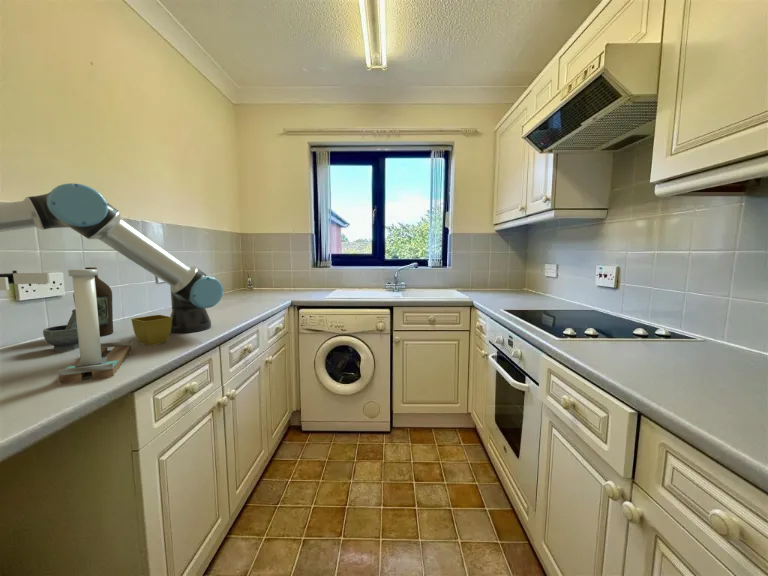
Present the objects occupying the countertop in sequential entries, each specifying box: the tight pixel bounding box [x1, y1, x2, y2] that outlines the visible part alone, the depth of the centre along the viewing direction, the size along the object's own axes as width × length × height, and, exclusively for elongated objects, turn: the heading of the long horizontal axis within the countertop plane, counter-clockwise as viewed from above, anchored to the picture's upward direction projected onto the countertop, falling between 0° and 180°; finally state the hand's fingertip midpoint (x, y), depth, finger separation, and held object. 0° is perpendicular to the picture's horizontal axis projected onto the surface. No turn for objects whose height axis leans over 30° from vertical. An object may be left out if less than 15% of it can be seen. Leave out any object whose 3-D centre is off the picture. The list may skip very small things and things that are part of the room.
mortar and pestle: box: [42, 308, 79, 352], centre depth 103 cm, size 11×9×12 cm
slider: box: [67, 268, 107, 368], centre depth 81 cm, size 5×5×24 cm
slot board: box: [57, 340, 133, 385], centre depth 89 cm, size 10×24×3 cm, turn 29°
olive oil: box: [72, 266, 114, 337], centre depth 118 cm, size 11×11×25 cm
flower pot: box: [130, 314, 172, 347], centre depth 109 cm, size 9×9×9 cm
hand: (29, 280), depth 76 cm, fingers open, 13 cm apart
